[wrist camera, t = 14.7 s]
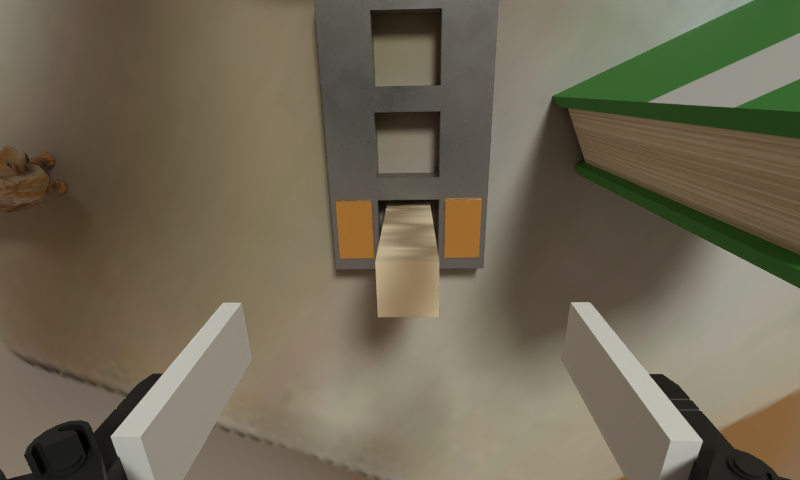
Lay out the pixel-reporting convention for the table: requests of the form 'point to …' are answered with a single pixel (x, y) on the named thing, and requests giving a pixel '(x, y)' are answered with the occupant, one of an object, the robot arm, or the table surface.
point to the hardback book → (706, 132)
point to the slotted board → (360, 100)
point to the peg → (407, 262)
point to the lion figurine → (25, 179)
